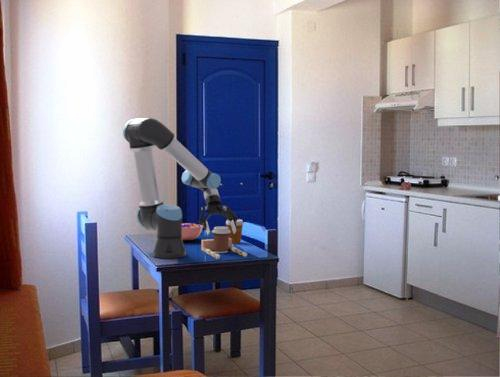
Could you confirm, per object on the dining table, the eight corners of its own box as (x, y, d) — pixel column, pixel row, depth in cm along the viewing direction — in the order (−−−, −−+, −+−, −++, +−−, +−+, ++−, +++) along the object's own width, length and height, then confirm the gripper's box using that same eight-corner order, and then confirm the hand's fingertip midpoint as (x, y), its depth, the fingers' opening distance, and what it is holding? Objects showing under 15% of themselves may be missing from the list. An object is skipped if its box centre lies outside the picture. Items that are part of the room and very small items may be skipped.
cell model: (201, 243, 309) (201, 222, 308) (163, 243, 309) (163, 221, 308) (204, 238, 326) (204, 217, 325) (168, 237, 326) (168, 217, 325)
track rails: (246, 256, 276) (247, 253, 276) (216, 258, 270) (216, 255, 270) (231, 248, 294) (231, 245, 294) (203, 250, 289) (203, 247, 288)
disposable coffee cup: (225, 244, 306) (225, 221, 305) (225, 241, 316) (225, 219, 315) (243, 244, 307) (243, 221, 306) (243, 241, 316) (243, 219, 315)
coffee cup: (211, 253, 282) (211, 228, 281) (211, 250, 291) (212, 226, 290) (230, 253, 282) (230, 228, 281) (230, 250, 291) (230, 226, 290)
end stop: (231, 248, 294) (231, 239, 294) (203, 250, 289) (203, 240, 288) (229, 247, 297) (229, 238, 297) (201, 249, 291) (201, 239, 291)
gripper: (233, 202, 308) (243, 235, 295) (187, 204, 298) (195, 238, 286) (237, 193, 302) (247, 227, 290) (190, 195, 293) (199, 229, 281)
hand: (222, 232), depth 288 cm, fingers open, 13 cm apart
